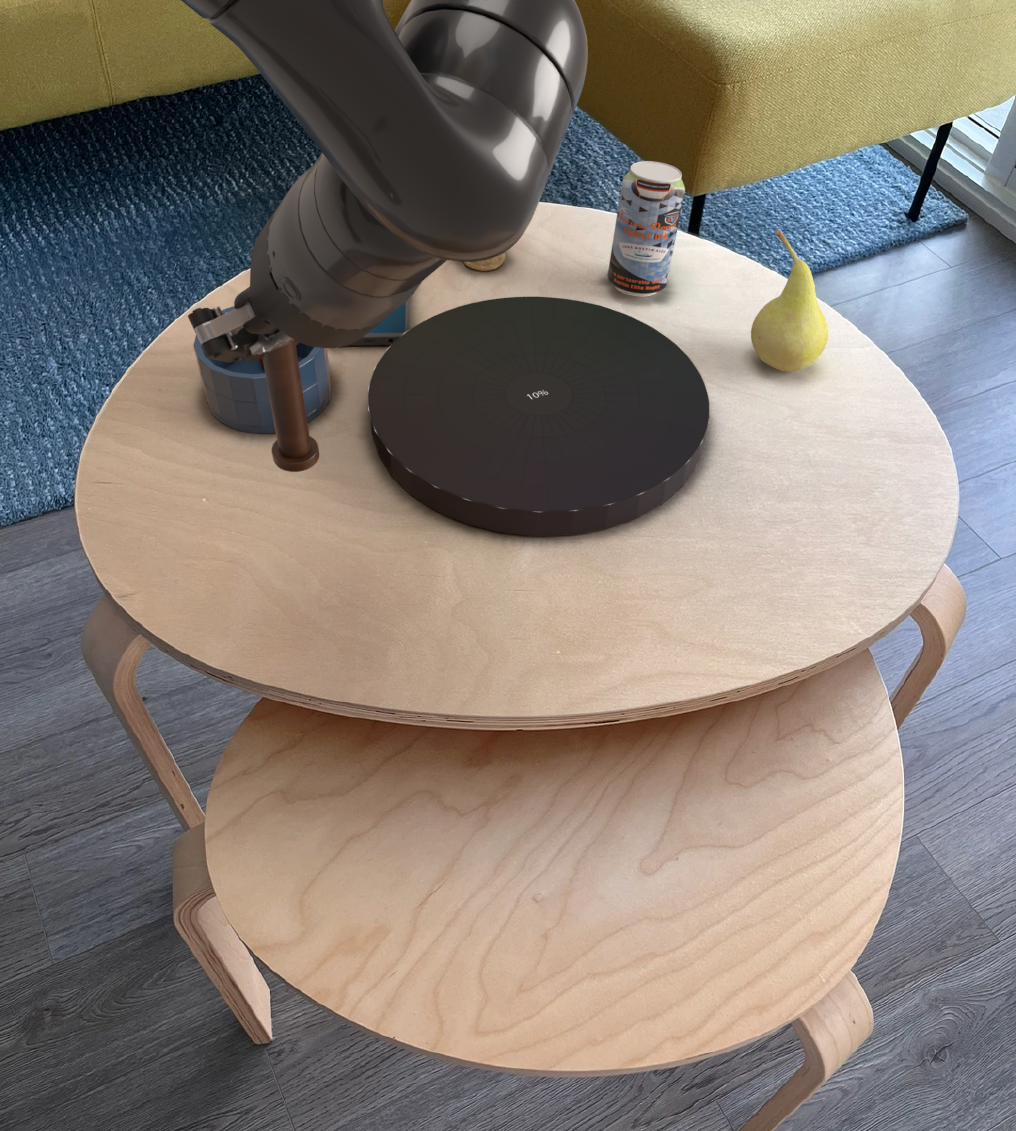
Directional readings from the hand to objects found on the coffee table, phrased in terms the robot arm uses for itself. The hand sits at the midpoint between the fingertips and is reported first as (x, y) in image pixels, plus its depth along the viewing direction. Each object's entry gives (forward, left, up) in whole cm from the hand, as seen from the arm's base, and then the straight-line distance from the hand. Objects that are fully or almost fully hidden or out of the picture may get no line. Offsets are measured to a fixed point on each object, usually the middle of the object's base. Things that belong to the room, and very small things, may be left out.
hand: (263, 339), depth 72 cm
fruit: (+45, -23, -22) cm, 55 cm away
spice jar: (+46, +10, -22) cm, 51 cm away
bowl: (+17, +16, -21) cm, 31 cm away
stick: (-1, -2, -8) cm, 9 cm away
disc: (+26, -7, -22) cm, 34 cm away
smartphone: (+34, +16, -21) cm, 43 cm away
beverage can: (+50, -6, -22) cm, 54 cm away
